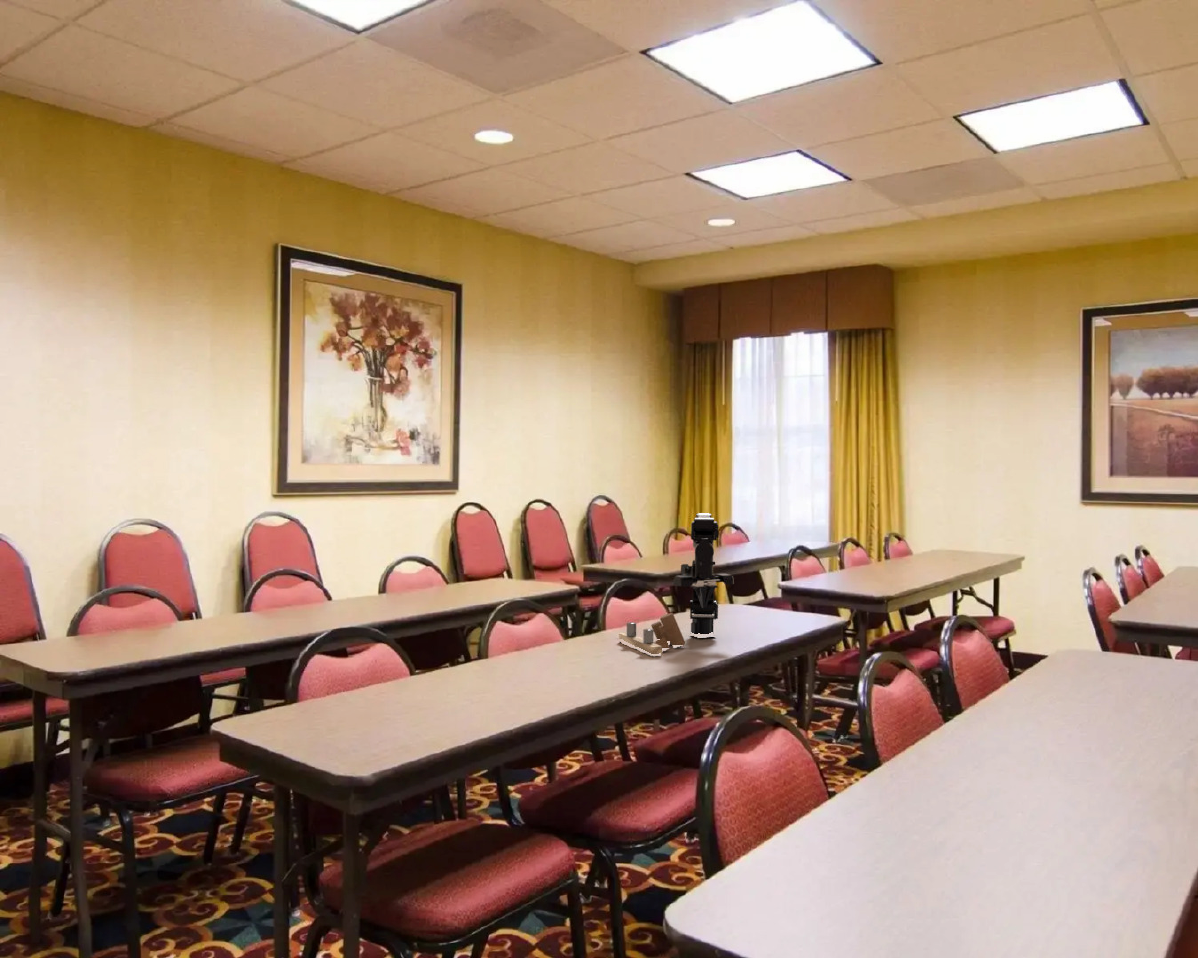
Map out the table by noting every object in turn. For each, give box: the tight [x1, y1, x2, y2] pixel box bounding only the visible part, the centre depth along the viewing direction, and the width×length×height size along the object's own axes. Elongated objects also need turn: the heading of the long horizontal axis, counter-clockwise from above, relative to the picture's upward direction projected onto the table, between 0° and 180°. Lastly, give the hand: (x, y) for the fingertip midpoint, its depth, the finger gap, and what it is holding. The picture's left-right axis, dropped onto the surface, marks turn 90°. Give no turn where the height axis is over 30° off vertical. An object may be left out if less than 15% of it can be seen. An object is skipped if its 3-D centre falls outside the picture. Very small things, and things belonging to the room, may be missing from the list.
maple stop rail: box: [618, 632, 663, 654], centre depth 281 cm, size 3×24×3 cm, turn 23°
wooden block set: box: [650, 612, 686, 649], centre depth 286 cm, size 18×9×10 cm, turn 4°
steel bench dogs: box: [626, 622, 654, 644], centre depth 281 cm, size 3×15×7 cm, turn 23°
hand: (703, 607), depth 290 cm, fingers closed
